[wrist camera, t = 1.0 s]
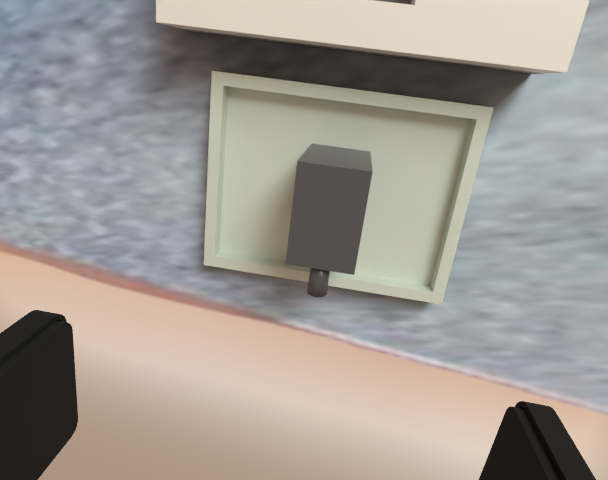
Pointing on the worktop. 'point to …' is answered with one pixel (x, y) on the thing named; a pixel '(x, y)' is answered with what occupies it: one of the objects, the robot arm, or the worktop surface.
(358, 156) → the plug
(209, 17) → the power strip
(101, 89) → the worktop surface
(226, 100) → the tray
